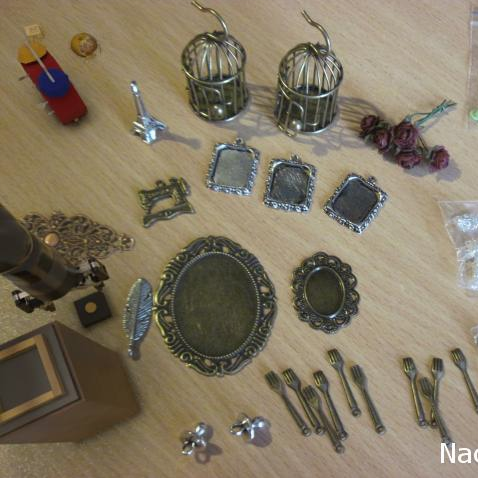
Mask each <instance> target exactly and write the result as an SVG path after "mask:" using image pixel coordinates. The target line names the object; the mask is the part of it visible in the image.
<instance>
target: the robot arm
mask: <svg viewBox="0 0 478 478" xmlns="http://www.w3.org/2000/svg"><path fill="white" fill-rule="evenodd" d="M0 276H1V277H2V278H4V279H6V280H7V281H9V282H11V283H12V285H14V286H15V287H17V288H18V289H14V290H11V296H12V299H13V301H14V305H15V307H16V308H18V309H20V310H21V311H22V312H24V313H26V314H32V313H34V312H35V310H36V309H38V310H39V311H45V312H51V313H53V312H56V311H57V309H56V306H55V303H54V301H57V300H60V299H62V298H63V297H65V296H67V295H68V294H69V293H70V292H71V293H72V292H74V291H79V290H80V291H81V290H87V289H88V288H89V287H93V288H94V289H95V290H96V291H101V292H103V291H104V287H105V286H106V285H105V282H106V281H108V280H110V279H111V278H110V275H109V273H108V271H107V267H106V265H105V264H103V263H102V262H101V261H99V260H98V258H96V257H90V258H88V259H87V264H86V265H84V266H81V267H80V266H78V265H74V264H73V263H72V261H70V259H68V258H67V257H65V256H64V255H63V253H62V252H61V251H59V250H58V249H56V248H55V247H54V246H52V245H50V244H49V243H46V241H44V240H43V239H41V238H40V236H38V235H36V234H35V233H33V232H32V231H30V230H29V229H28V228H27V227H26V226H25V225H23V224H22V223H21V222H20V221H19V219H17V218H16V217H15V215H14V214H13V213H12V212H11V211H10V210H9V209H8V208H6V206H5V205H4V204H3V203H2V202H1V201H0Z"/></svg>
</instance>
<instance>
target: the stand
mask: <svg viewBox="0 0 478 478" xmlns="http://www.w3.org/2000/svg"><path fill="white" fill-rule="evenodd" d="M140 412H141V409H140V406H139V404H138V401H137V399H136V396H135V393H134V391H133V388H132V386H131V384H130V381H129V379H128V376H127V374H126V371H125V368H124V366H123V364H122V362H121V358H120V356H119V354H118V353H117V352H115V351H114V350H112V349H109V347H106V346H104V345H102V344H101V343H99V342H97V341H95V340H94V339H92V338H89V337H88V336H86V335H84V334H82V333H80V332H79V331H76V330H75V329H73V328H71V327H70V326H68V325H66V324H64V323H62V322H60V321H58V320H56V319H55V320H53V321H50V322H49V323H46V324H44V325H42V326H39V327H37V328H35V329H33V330H30V331H28V332H26V333H24V334H21V335H19V336H16V337H14V338H13V339H10V340H8V341H5V342H3V343H1V344H0V446H1V445H28V444H29V445H31V444H61V443H80V442H82V441H84V440H85V439H87V438H89V437H91V436H93V435H96V434H98V433H100V432H102V431H103V430H106V429H108V428H109V427H112V426H114V425H116V424H118V423H120V422H122V421H123V420H125V419H127V418H130V417H132V416H134V415H136V414H138V413H140Z"/></svg>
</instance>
